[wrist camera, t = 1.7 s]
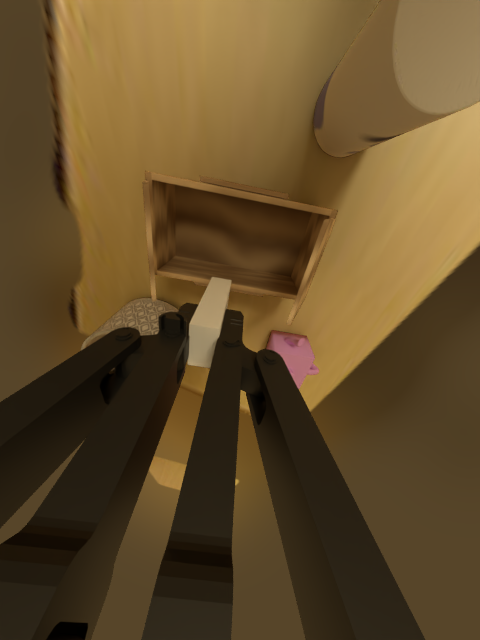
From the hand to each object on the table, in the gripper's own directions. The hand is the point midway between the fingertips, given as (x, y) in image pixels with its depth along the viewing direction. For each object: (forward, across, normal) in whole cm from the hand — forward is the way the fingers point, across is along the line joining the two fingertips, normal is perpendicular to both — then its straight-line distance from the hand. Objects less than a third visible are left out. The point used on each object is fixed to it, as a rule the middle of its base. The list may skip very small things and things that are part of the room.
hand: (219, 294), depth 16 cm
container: (+27, +13, +19) cm, 36 cm away
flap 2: (+16, +13, 0) cm, 21 cm away
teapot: (+27, +16, -25) cm, 40 cm away
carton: (+27, 0, 0) cm, 27 cm away
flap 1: (+16, -12, 0) cm, 20 cm away
